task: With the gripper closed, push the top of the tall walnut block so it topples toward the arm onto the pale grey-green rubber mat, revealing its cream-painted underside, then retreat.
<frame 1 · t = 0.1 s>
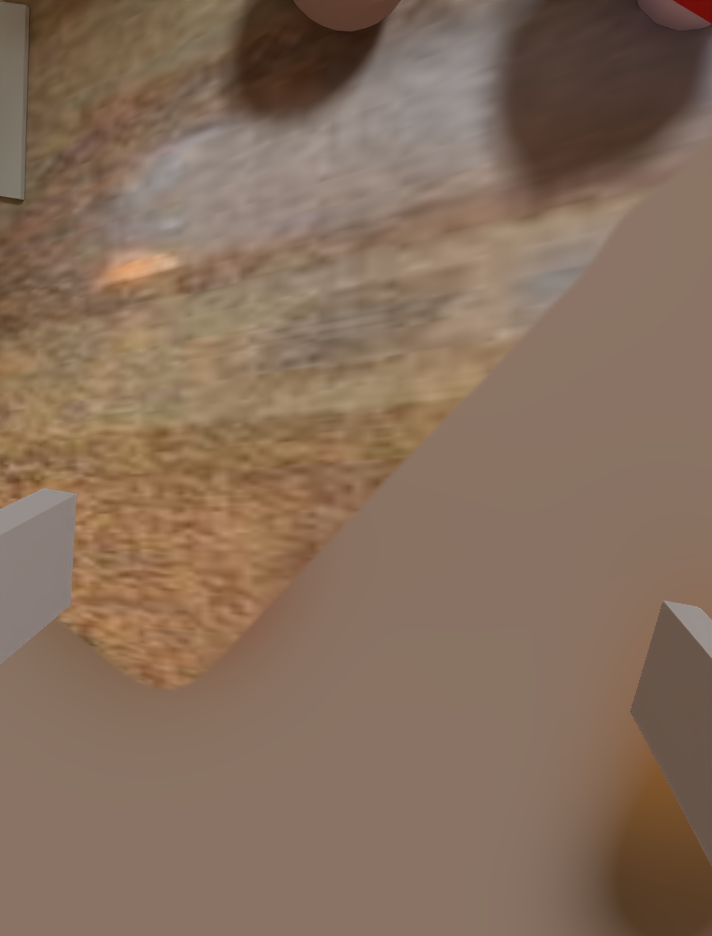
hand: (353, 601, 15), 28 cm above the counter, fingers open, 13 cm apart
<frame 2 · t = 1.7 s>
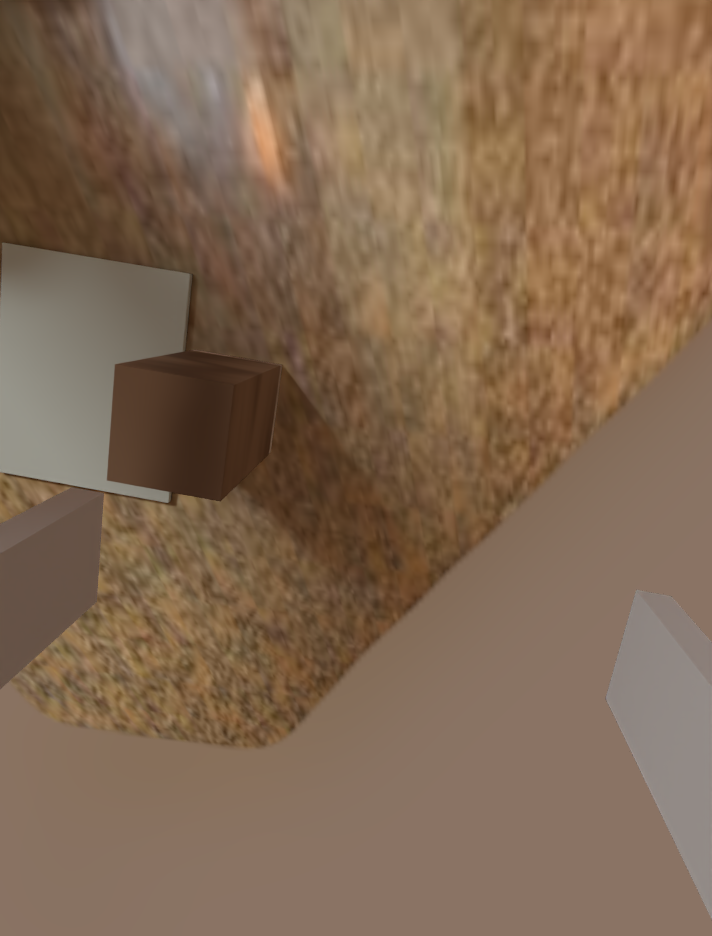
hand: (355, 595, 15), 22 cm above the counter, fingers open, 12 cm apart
block: (233, 401, 37), on the counter
mat: (91, 376, 38), on the counter
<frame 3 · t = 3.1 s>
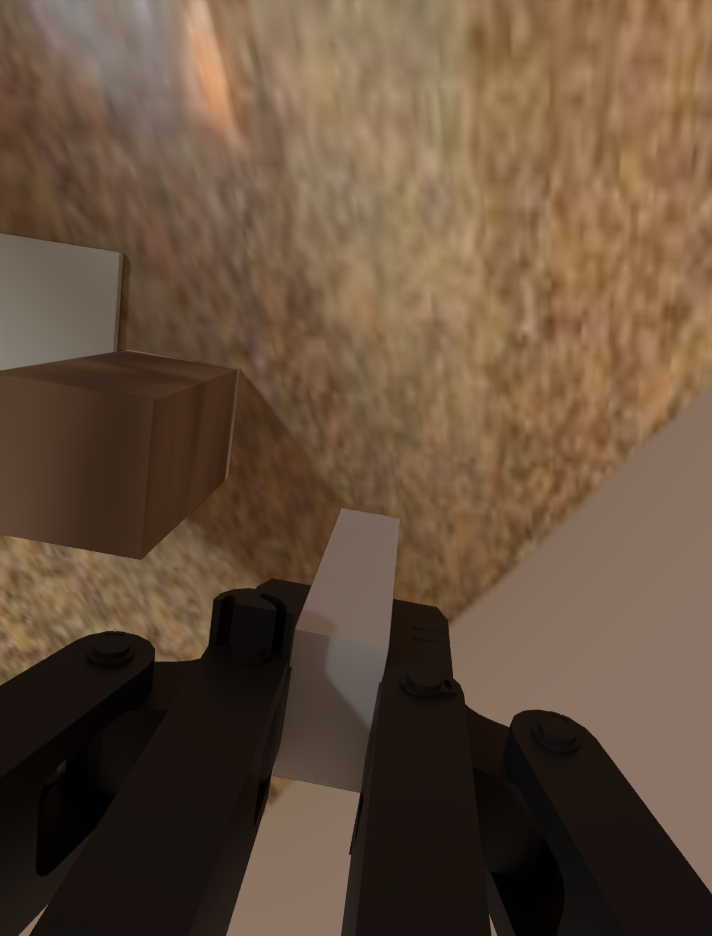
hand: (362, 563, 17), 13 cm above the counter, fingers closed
block: (179, 414, 30), on the counter
mat: (1, 384, 30), on the counter
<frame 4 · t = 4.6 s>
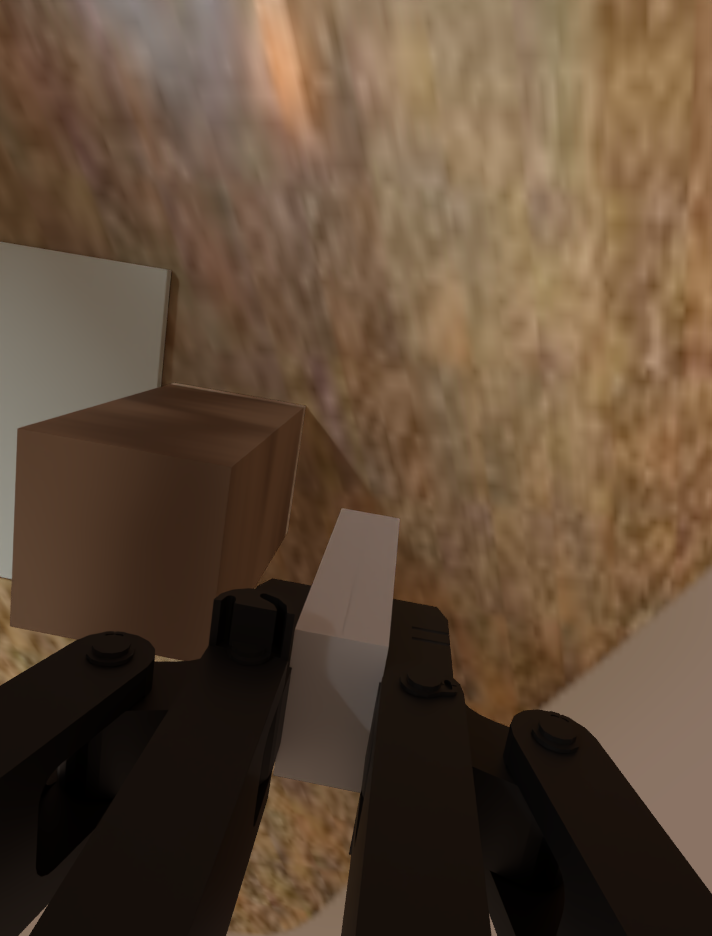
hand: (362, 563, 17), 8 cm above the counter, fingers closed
block: (232, 458, 25), on the counter
mat: (24, 421, 26), on the counter
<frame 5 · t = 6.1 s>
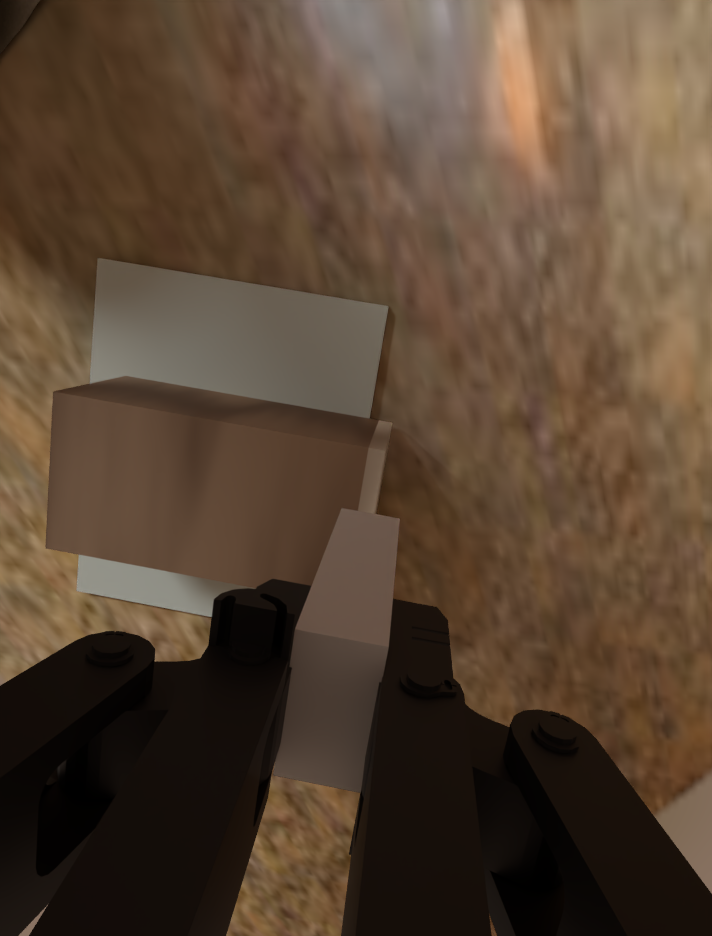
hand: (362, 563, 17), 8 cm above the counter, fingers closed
block: (376, 507, 22), point 3 cm above the counter, tilted 90°, touching mat
mat: (223, 456, 25), on the counter
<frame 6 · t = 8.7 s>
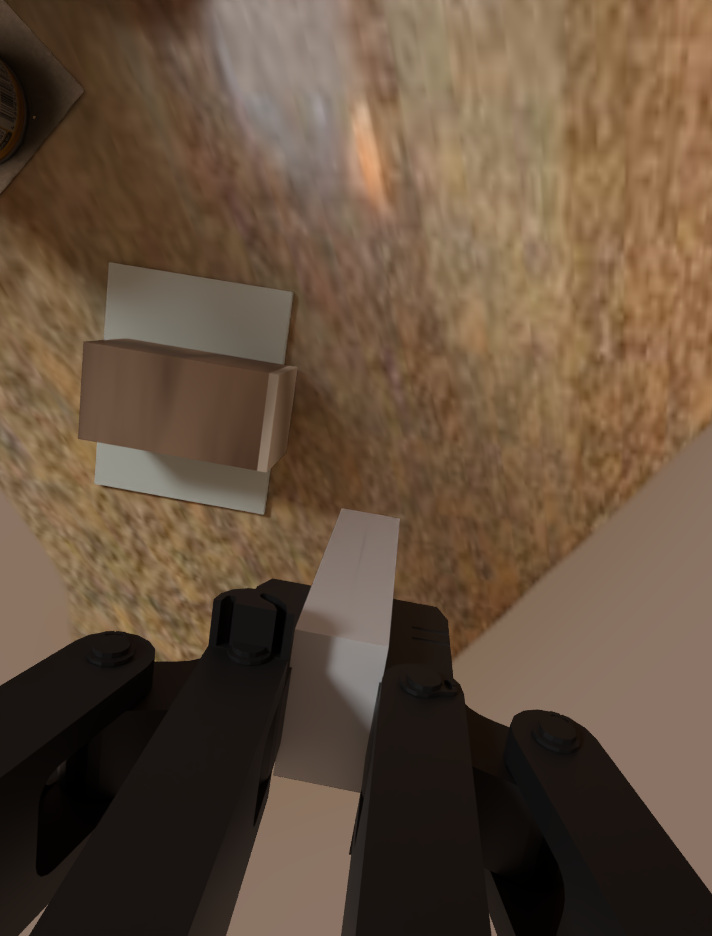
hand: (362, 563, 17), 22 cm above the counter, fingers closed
block: (283, 417, 35), point 3 cm above the counter, tilted 90°, touching mat
mat: (191, 391, 39), on the counter
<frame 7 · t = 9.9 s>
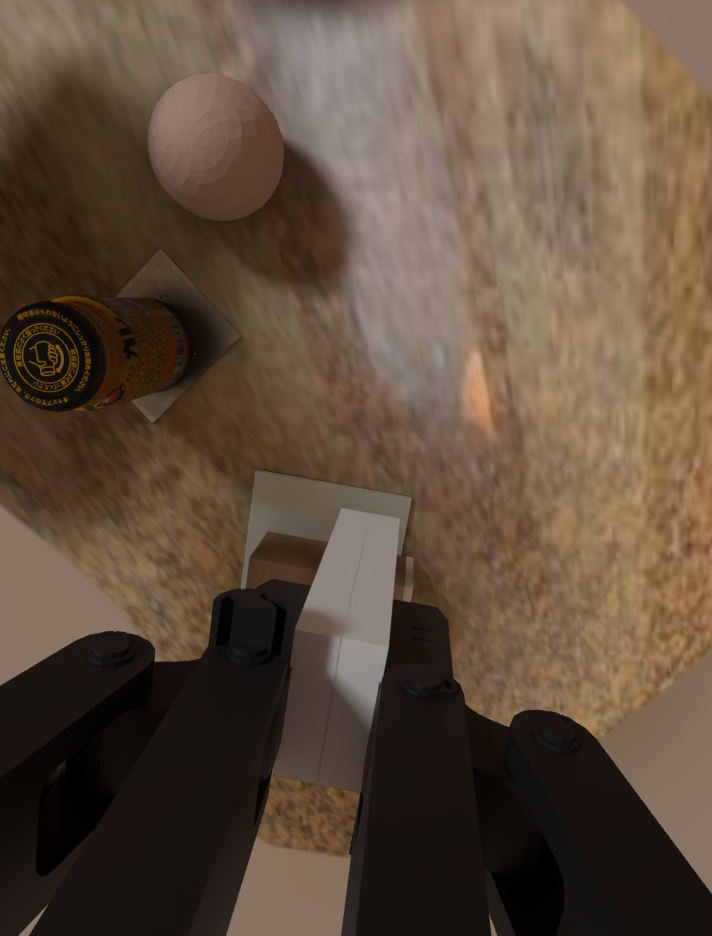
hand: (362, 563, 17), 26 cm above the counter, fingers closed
egg: (237, 166, 40), on the counter
block: (406, 607, 42), point 3 cm above the counter, tilted 90°, touching mat
condiment: (158, 338, 43), on the counter
mat: (319, 573, 46), on the counter
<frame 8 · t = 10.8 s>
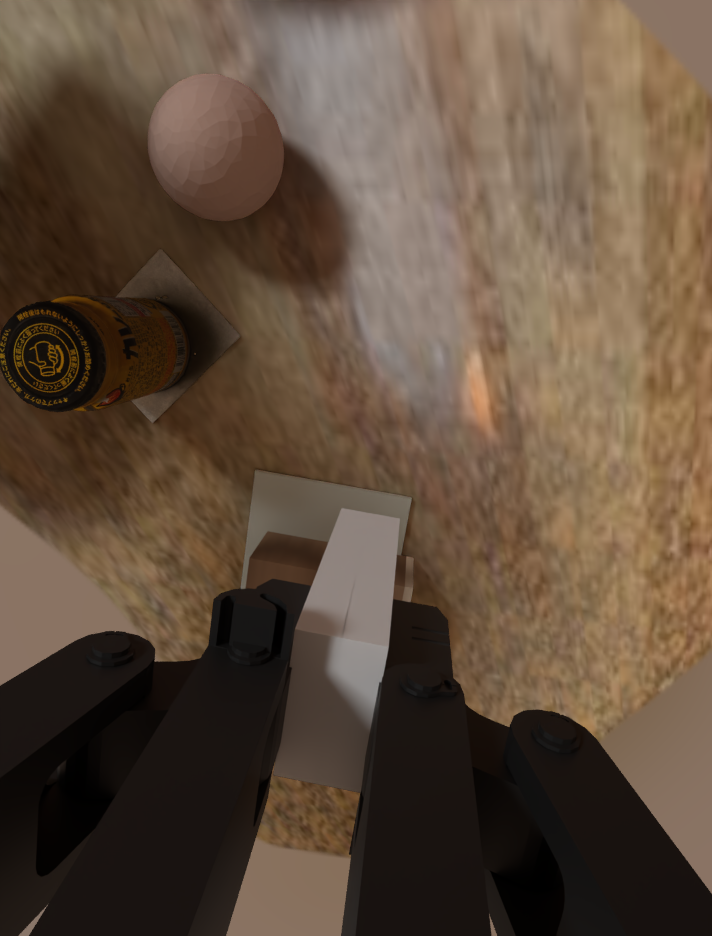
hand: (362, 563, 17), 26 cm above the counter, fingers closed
egg: (237, 166, 40), on the counter
block: (406, 607, 42), point 3 cm above the counter, tilted 90°, touching mat
condiment: (158, 338, 43), on the counter
mat: (319, 573, 46), on the counter
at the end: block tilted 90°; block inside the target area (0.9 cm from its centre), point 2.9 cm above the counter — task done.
